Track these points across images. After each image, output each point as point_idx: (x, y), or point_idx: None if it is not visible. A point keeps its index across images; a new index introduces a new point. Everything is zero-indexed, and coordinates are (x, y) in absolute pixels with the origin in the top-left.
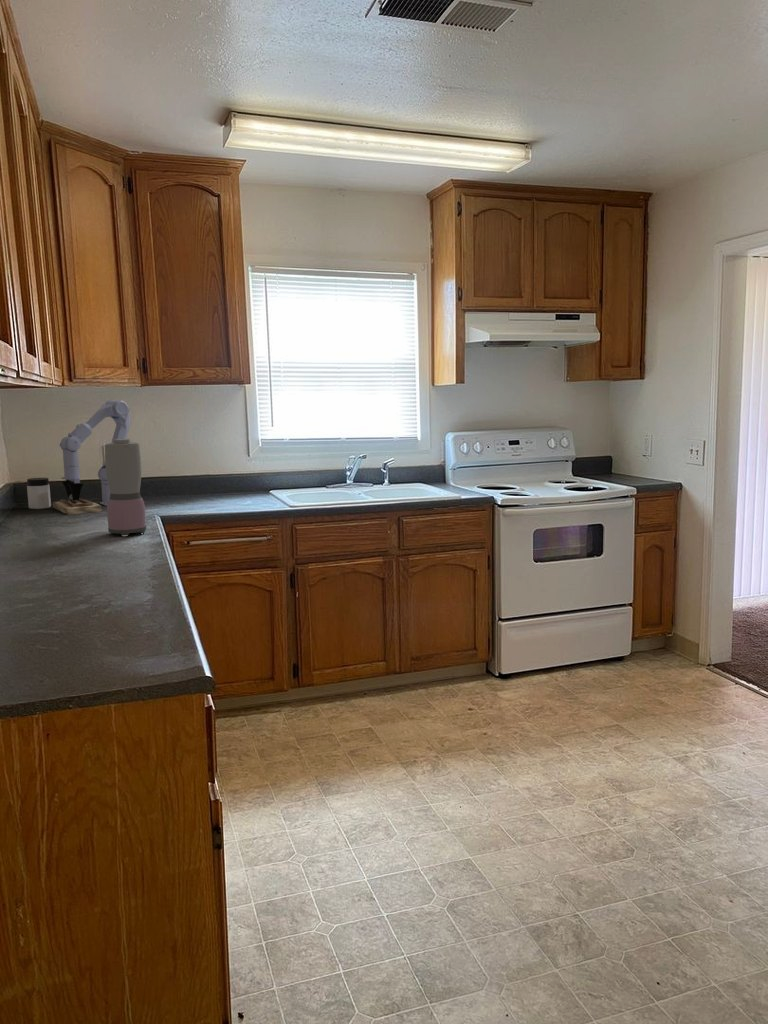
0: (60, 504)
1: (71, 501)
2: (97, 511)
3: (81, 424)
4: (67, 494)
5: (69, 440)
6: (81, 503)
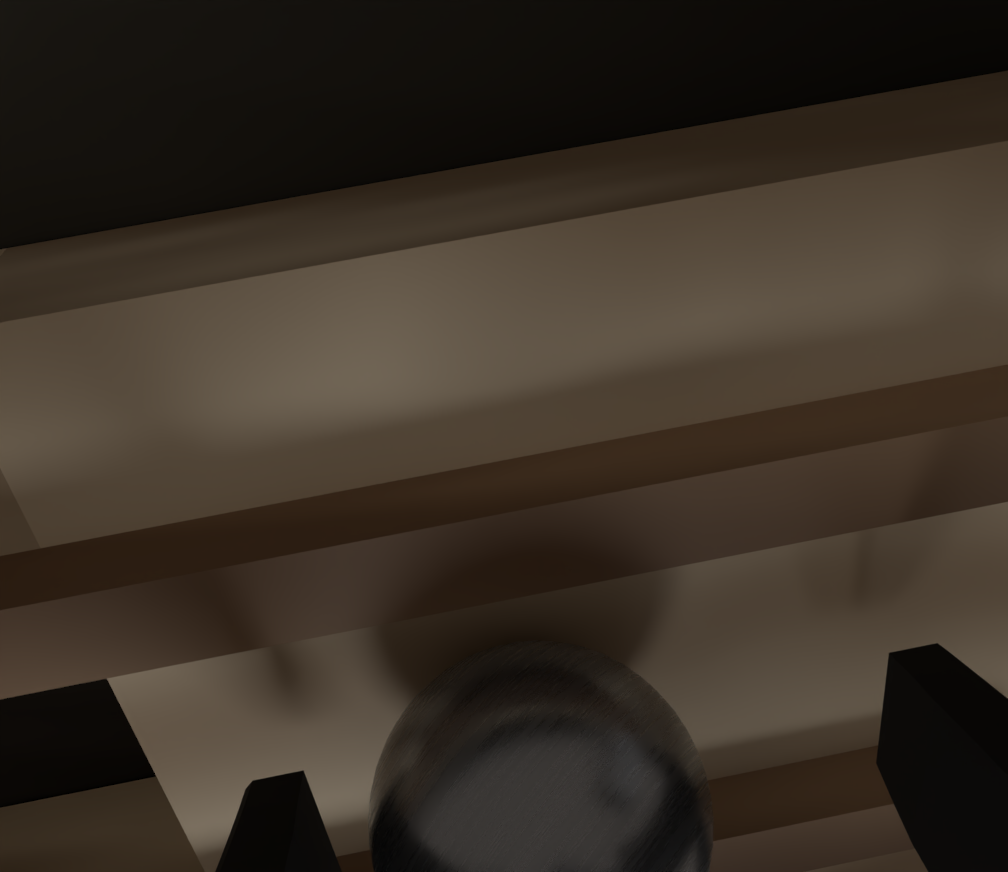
0: (395, 321)
1: (437, 676)
2: None
3: None
4: (970, 738)
5: None
6: None
